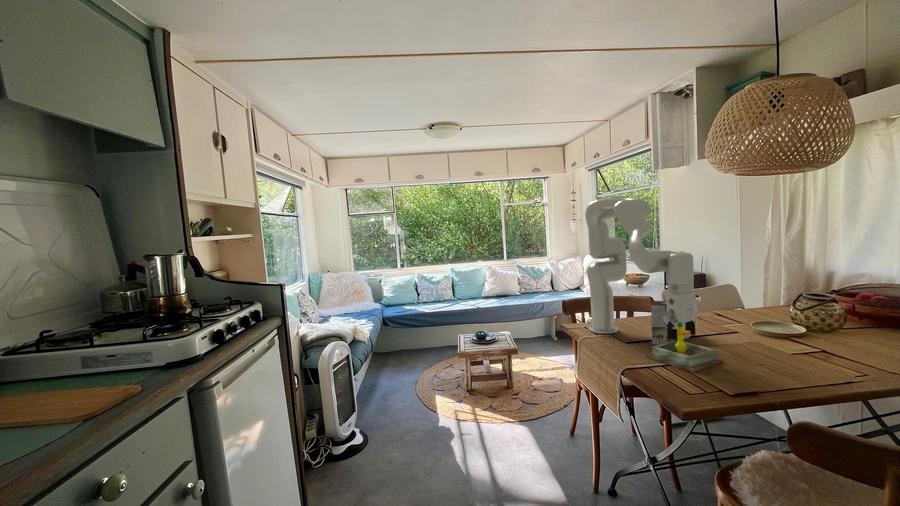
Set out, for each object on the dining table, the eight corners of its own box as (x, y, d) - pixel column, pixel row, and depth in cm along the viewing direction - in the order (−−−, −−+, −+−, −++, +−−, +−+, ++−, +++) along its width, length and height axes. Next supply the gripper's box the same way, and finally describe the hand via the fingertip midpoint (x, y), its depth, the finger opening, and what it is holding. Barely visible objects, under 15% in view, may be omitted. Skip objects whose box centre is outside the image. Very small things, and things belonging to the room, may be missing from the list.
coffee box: (670, 346, 134) (669, 305, 133) (651, 344, 138) (650, 304, 137) (673, 340, 141) (671, 300, 140) (654, 337, 145) (653, 299, 144)
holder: (646, 357, 126) (645, 346, 125) (675, 348, 132) (674, 338, 132) (692, 372, 111) (692, 360, 111) (722, 361, 117) (722, 350, 117)
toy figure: (686, 353, 124) (685, 320, 124) (695, 356, 121) (694, 322, 120) (671, 356, 123) (669, 322, 122) (679, 359, 119) (677, 324, 119)
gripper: (675, 293, 113) (676, 344, 114) (707, 286, 120) (708, 334, 121) (653, 290, 120) (654, 338, 121) (685, 283, 127) (686, 329, 128)
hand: (681, 336), depth 121 cm, fingers open, 9 cm apart
